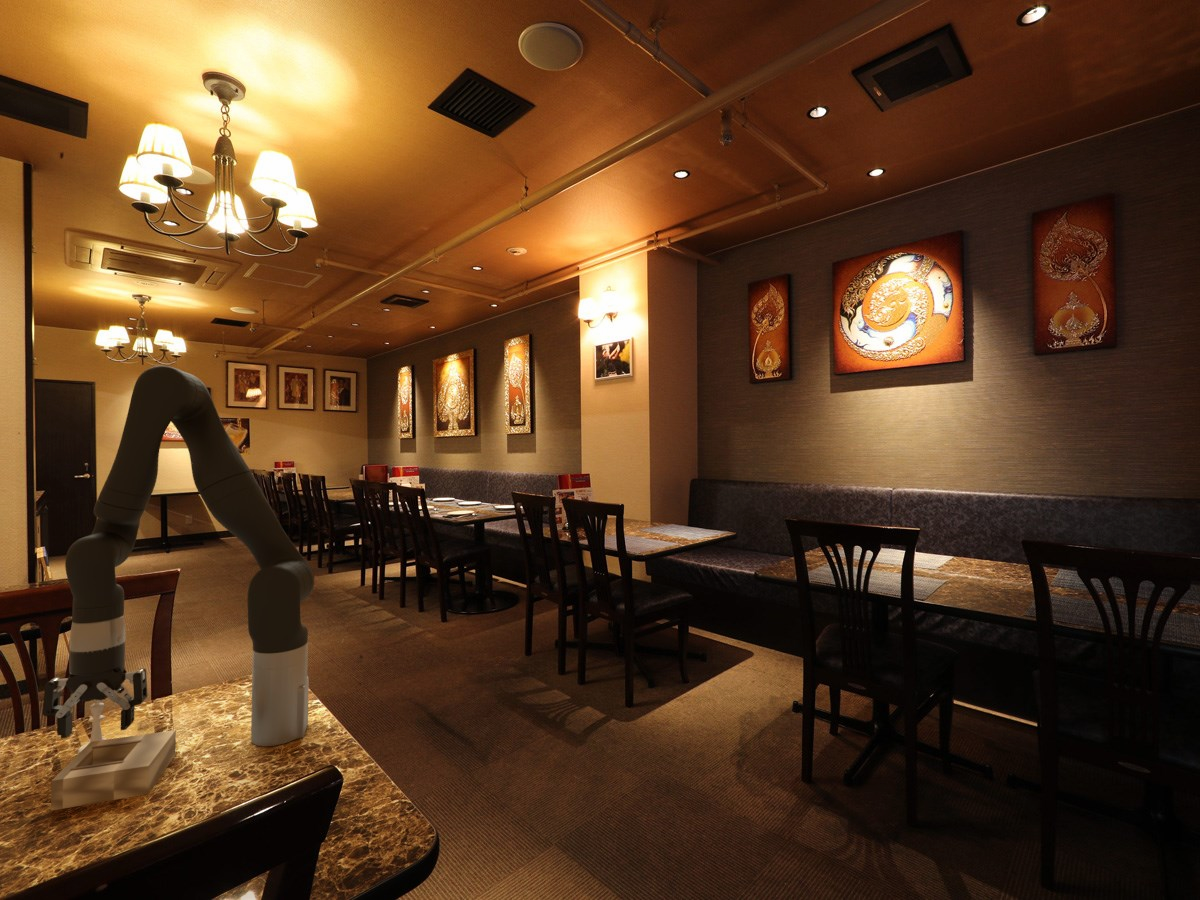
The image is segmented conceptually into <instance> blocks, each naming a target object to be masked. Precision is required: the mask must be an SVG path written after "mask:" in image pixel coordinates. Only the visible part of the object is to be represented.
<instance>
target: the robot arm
mask: <svg viewBox="0 0 1200 900" xmlns="http://www.w3.org/2000/svg"><path fill="white" fill-rule="evenodd" d="M171 423H172V424H173V426H174V427H175V429H176V430H177V432H178V434H179V435H180V437H181V438H182V440H183V441H184V443H185V445H186V448H187V450H188V454H189V458H190V459H189V460H190V466H191V467H190V468H191V473H192V479H193V482H194V486H195V488H196V490H197V492H198V494H199V496H200V497H201V499H202V501H203V502H204V504H205V507H206V508H207V509H208V511H209V513H210V514H211V515H212V517H213V518H214V519H215V520H216V521H217V522H218V523H219V524H220V525H221V526H222V527H224V528H225V530H227V531H228V532H229V533H230V534H232V536H234V537H236V539H238V541H240V542H241V543H243V545H245V547H247V549H248V550H249V551H250V553H251V555H252V556H253V558H254V560H255V561H256V564H257V566H258V567H259V570H258V571H257V572H255V574H253V576H252V577H251V580H250V582H249V584H248V589H247V626H248V627H247V628H248V635H249V637H250V640H252V664H251V665H252V667H251V668H252V669H251V670H252V672H251V673H252V674H251V675H252V676H251V718H250V719H251V720H250V721H251V722H250V723H251V724H250V725H251V727H250V740H251V743H252V744H253V745H255V746H258V747H274V746H279V745H285V744H286V743H289V742H292V741H294V740H297V739H301V738H304V737H305V734H306V732H307V728H308V724H309V691H310V685H309V684H310V683H309V681H310V679H309V678H310V677H309V676H308V655H309V654H308V651H309V650H308V649H309V647H308V645H309V643H308V641H309V633H308V632H309V630H308V628H307V626H306V625H305V624H302V621H301V619H302V618H301V602H303V601H305V600H306V599H307V598H308V597H309V596H310V595H311V593H312V592H313V590H314V587H315V576H314V572H313V570H312V569H311V566H310V564H309V563H308V562H307V561H306V559H305V558H304V556H303V555H302V554H301V552H300V551H299V550H298V548H297V547H296V545H295V544H294V543H293V542H292V540H291V539H290V537H289V535H287V533H286V532H285V530H284V528H283V527H282V525H281V523H280V520H279V519H278V517H277V515H276V514H275V512H274V509H273V508H272V506H271V505H270V503H269V501H268V500H267V498H266V496H265V494H264V491H263V490H262V488H261V486H260V484H259V483H258V481H257V479H256V478H255V475H254V474H253V472H252V471H251V469H250V467H249V466H248V464H247V462H246V460H244V458H243V456H242V453H240V451H239V449H238V448H237V445H236V444H235V442H234V441H233V440H232V438H231V437H230V436H229V433H228V432H227V431H226V428H225V426H224V424H223V422H222V420H221V417H220V416H219V413H218V410H217V408H216V406H215V404H214V401H213V398H212V396H211V394H210V392H209V389H208V387H207V386H206V385H205V383H204V382H203V381H202V380H201V379H200V378H199V377H197V376H196V375H194V374H192V373H190V372H186V371H183V370H181V369H178V368H175V367H173V366H170V365H169V366H168V365H155V366H152V367H149V368H148V369H146V370H143V372H142V373H141V374H140V375H139V376H138V377H137V379H136V381H135V384H134V386H133V390H132V392H131V397H130V402H129V406H128V411H127V414H126V418H125V423H124V426H123V429H122V434H121V438H120V443H119V445H118V448H117V452H116V455H115V458H114V460H113V463H112V465H111V468H110V471H109V473H108V475H107V478H106V480H105V482H104V484H103V486H102V488H101V491H100V493H99V495H98V498H97V500H96V502H95V503H94V504H95V505H94V507H93V515H94V516H95V517H96V518H97V519H96V521H95V525H94V528H93V530H92V532H91V534H89V535H87V536H84V537H81V538H79V539H77V540H76V541H75V542H73V543H72V544H71V545H70V546H69V548H68V549H67V552H66V555H65V562H64V563H65V564H64V566H65V567H64V568H65V572H66V573H65V575H66V577H67V582H68V585H69V589H70V593H71V594H72V607H71V608H72V612H71V613H72V614H71V615H72V616H71V621H72V622H71V627H70V634H69V641H68V647H69V656H68V657H69V659H68V660H69V661H68V662H69V663H68V665H69V666H68V673H69V677H67V678H62V677H60V676H55V677H53V678H52V679H50V680H49V681H47V682H46V683H45V685H44V691H43V692H44V694H43V702H42V703H43V704H42V716H44V717H49V716H52V717H55V718H56V721H57V722H56V733H57V735H58V736H60V739H65V738H68V737H69V736H71V734H72V733H73V712H72V711H71V710H73V708H74V707H75V706H76V705H77V704H78V703H79V702H80V701H83V703H87V702H92V700H102V701H103V700H106V699H109V700H110V701H111V702H112V703H115V704H117V705H118V707H120V708H121V711H120V730H121V731H125V730H127V729H128V728H129V727H130V726H131V725H132V724H133V723H134V721H135V706H139V705H141V704H143V703H144V701H145V700H146V699H147V698H148V681H147V680H148V679H147V669H146V668H145V667H141V668H139V669H138V670H135V671H134V670H133V671H127V670H126V668H125V664H126V621H125V590H124V588H123V586H122V585H120V584H118V583H117V579H116V568H117V567H118V566H121V565H122V564H123V563H124V562H126V561H127V559H128V558H129V556H130V555H131V554H132V551H133V549H134V548H135V544H136V541H137V537H138V533H139V528H140V522H141V517H142V515H143V514H144V512H145V509H146V508H147V505H148V504H149V501H150V499H151V496H152V494H153V492H154V488H155V486H156V482H157V479H158V474H159V473H158V471H159V456H160V450H161V449H160V448H161V444H162V440H163V437H164V435H165V433H166V430H167V429H168V427H169V426H170V424H171ZM126 680H128V681H129V683H130V684H132V687H133V689H132V690H133V695H132V694H131V693H130V692H129V689H128V688H127V687H126V686H125V685H124V684H123V683H124V682H125V681H126ZM65 687H66V688H67V689H68V690H69V691H70V692H71V693H72V694H71V696H69V698H67V700H66V701H65V702H64V704H63V705H60V698H61V691H63V689H65Z"/></svg>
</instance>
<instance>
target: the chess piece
mask: <svg viewBox="0 0 1200 900" xmlns="http://www.w3.org/2000/svg"><path fill="white" fill-rule="evenodd" d="M92 701H94V703H93V704H91V705H90V706H89V710H90V712H91V715H92V716H91V717H90V718H89V719H88V722H89V723H92V729H91V732H90V733H91V734H90V738H89V741H88V742H87V743H85V744H83V745H81V747H79V748H78V750H77V751H78V752H77V755H78V754H79V753H80V752H81V751H82V750H83V749H84V748H85V747H86V746H87V745H88V744H89V743H90V742H93V741H100V740H107V739H108V738H105V737H103V733H102V726H101V721H102V720H104V719H105V714H104V715H102V712H103V709H104V707H105V703H103V702H102V701H103V700H91V702H92Z"/></svg>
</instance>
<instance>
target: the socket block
mask: <svg viewBox="0 0 1200 900" xmlns="http://www.w3.org/2000/svg"><path fill="white" fill-rule="evenodd" d="M176 736H177V730H176V729H173V730H172V729H171V730H168V731H167V730H165V731H159V732H151V733H145V734H138V735H129V736H123V737H117V738H116V737H115V738H106V739H107V740H100V741H93V742H90V743H89V744H88V745H87V746H86V747H85V748H84V749H83V750H82V751H81V752H80V753H79V754H78V753H77V755H76V756H75V757H74V758H73V759H72V760H71V761H70V762H69V763H68V764H67V765H66V766H65V767H63V769H62V770H60V771H59V773H57V775H56V776H55V777H54V778H53V779H52V780H51V782H50V783H51V784H50V785H51V786H50V811H56V810H62V809H69V808H75V807H81V806H87V805H91V804H99V803H103V802H109V801H115V800H116V801H117V800H121V799H127V798H132V797H134V798H135V797H140V796H145V795H149V794H150V792H151V791H152V790H153V788H154V786H156V784H157V782H159V780H160V778H161V776H162V775H163V774H164V772H165V771H166V769H167V768H168V766H169V765H170V764H171V762H172V761H173V759H174V758H175V757H176V744H177V743H176V741H177V740H176Z"/></svg>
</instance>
